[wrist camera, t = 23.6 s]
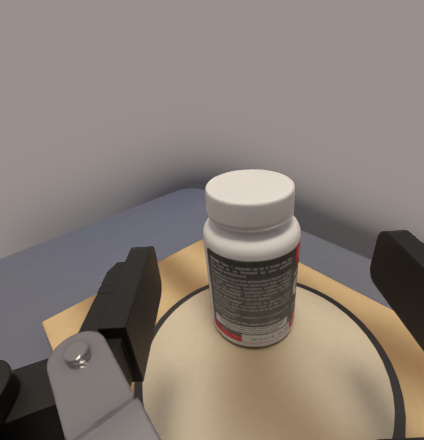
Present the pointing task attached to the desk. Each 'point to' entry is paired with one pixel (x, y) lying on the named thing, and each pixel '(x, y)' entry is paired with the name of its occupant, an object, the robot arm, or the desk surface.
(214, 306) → the pill bottle
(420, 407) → the tan flat wooden board
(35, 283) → the desk surface
